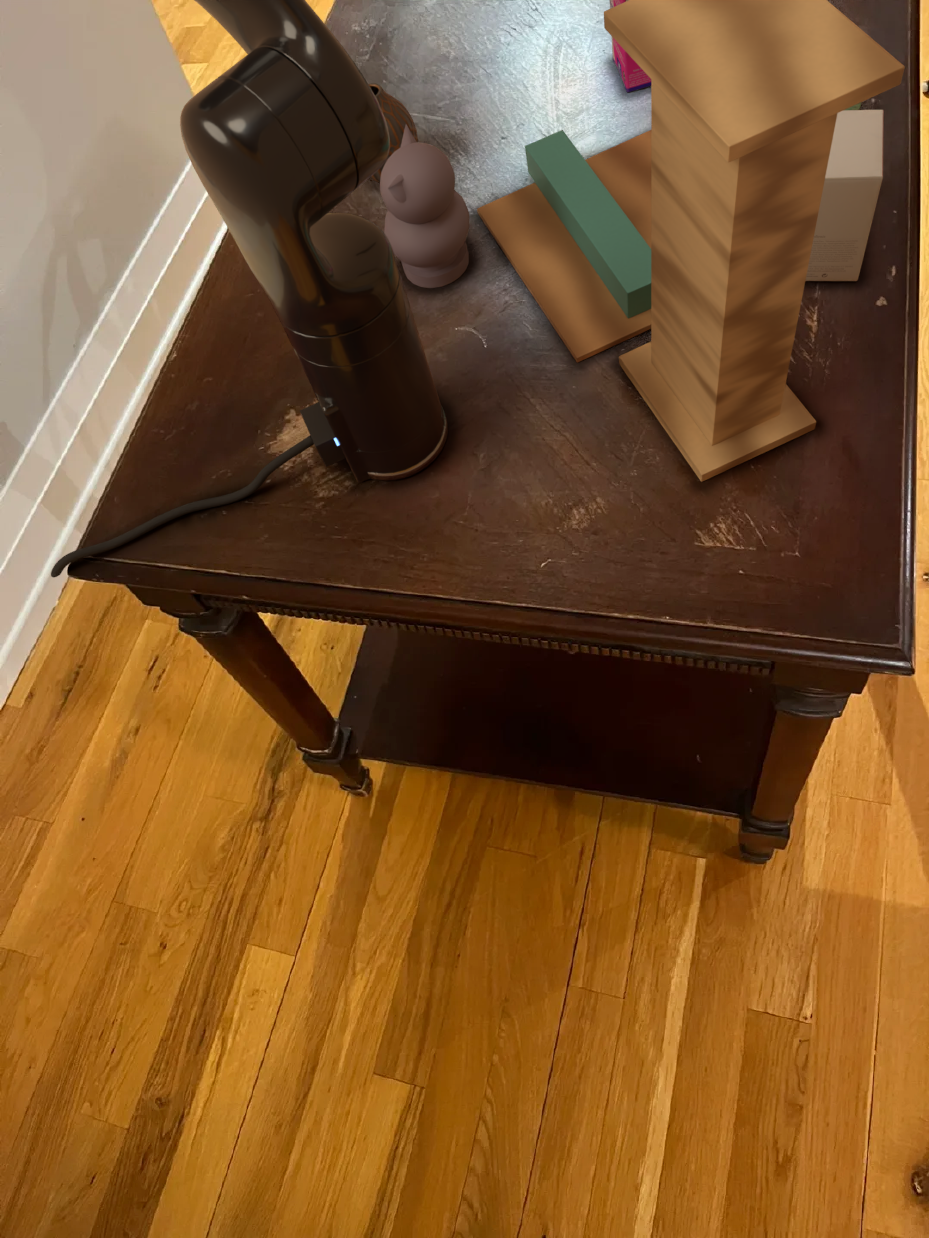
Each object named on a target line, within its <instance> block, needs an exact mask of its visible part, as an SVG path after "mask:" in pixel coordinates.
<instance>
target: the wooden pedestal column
mask: <svg viewBox="0 0 929 1238" xmlns="http://www.w3.org/2000/svg"><path fill="white" fill-rule="evenodd" d="M603 27H604V30H605V31H606V32H607V33H608V34H609V35H610V36H612V37H613V38H614V39H615V40H616V41H617V42H618V44H619V45H620V46H621V47H622V48H623V49H624V50H625V51H626V52H627V53H628V54H629V55H630V57H631V58H632V59H633V60H634V61H635V62H636V63H637V64H638V65H639V66H640V67H641V69H642V70H643V71H644V72H645V73H646V74H647V75H648V76H649V77H650V78H651V86H650V87H651V89H650V93H651V96H650V99H651V101H650V102H651V109H650V110H651V112H650V113H651V115H650V117H651V124H650V125H651V127H650V130H651V329H650V330H651V332H650V333H651V337H650V338H651V339H650V340H651V341H648V342H647V343H645V344H643V345H640V346H638V347H636V348H634V349H632V350H629V351H627V352H625V353H623V354H620V355H619V356H618V365H619V366H620V368H621V369H622V370H623V372H624V373H625V374H626V376H627V378H628V379H629V380H630V382H631V383H632V385H633V386H634V388H635V390H636V391H638V393H639V395H640V396H641V397H642V399H643V400H644V402H645V403H646V405H647V406H648V407H649V409H650V410H651V412H652V413H653V415H654V416H655V418H656V419H657V421H658V422H659V424H660V425H661V427H662V428H663V430H664V431H665V432H666V434H667V435H668V436H669V438H670V439H671V440H672V442H673V443H674V445H675V446H676V448H677V450H678V451H679V452H680V454H681V455H682V457H683V458H684V460H685V461H686V462H687V464H688V465H689V466H690V468H691V470H692V471H693V472H694V474H695V475H696V477H697V478H698V479H699V481H700V482H701V483H702V482H704V481H706V480H709V479H711V478H713V477H715V476H717V475H720V474H722V473H724V472H726V471H728V470H730V469H733V468H734V467H737V466H739V465H741V464H743V463H745V462H747V461H750V460H752V459H754V458H756V457H758V456H760V455H763V454H765V453H766V452H769V451H771V450H773V449H775V448H777V447H780V446H782V445H784V444H786V443H788V442H791V441H792V440H795V439H798V438H799V437H801V436H803V435H806V434H807V433H810V432H812V431H814V430H816V425H817V420H816V419H815V418H814V417H813V416H812V414H811V413H810V412H809V411H808V409H807V408H806V407H805V405H804V404H803V403H802V402H801V400H800V399H799V397H797V395H796V394H795V393H794V392H793V391H792V389H791V388H790V387H789V386H788V385H787V378H788V373H789V368H790V363H791V358H792V352H793V348H794V342H795V336H796V331H797V327H798V322H799V316H800V311H801V306H802V302H803V301H802V300H803V296H804V290H805V286H806V285H805V284H806V281H805V280H806V275H807V270H808V265H809V259H810V254H811V249H812V244H813V239H814V233H815V228H816V223H817V218H818V212H819V207H820V202H821V197H822V192H823V186H824V181H825V176H826V171H827V166H828V160H829V155H830V150H831V145H832V140H833V134H834V129H835V124H836V119H837V113H839V112H841V111H843V110H845V109H847V108H850V107H852V106H854V105H856V104H858V103H861V102H862V103H863V102H864V101H868V100H870V99H872V98H874V97H876V96H878V95H880V94H882V93H885V92H887V91H889V90H891V89H893V88H895V87H898V86H900V85H901V83H902V80H903V76H904V72H905V65H904V64H903V63H901V61H900V60H898V59H897V58H896V57H894V56H893V55H892V54H891V53H890V52H888V51H887V50H886V49H885V47H883V46H881V45H880V44H879V43H878V42H877V41H876V40H874V39H873V38H872V37H871V36H870V35H868V34H867V32H865V31H864V30H863V29H862V28H861V27H859V26H858V25H856V23H854V22H853V21H852V20H851V19H850V18H849V17H847V16H846V15H845V14H844V13H843V12H841V11H840V10H839V9H838V8H837V7H836V6H834V5H833V4H832V2H830V1H829V0H629V1H626V2H624V3H622V4H620V5H617V6H615V7H613V8H611V9H610V8H608V9H606V10H604V11H603ZM612 37H611V38H612ZM862 103H861V104H862Z"/></svg>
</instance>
